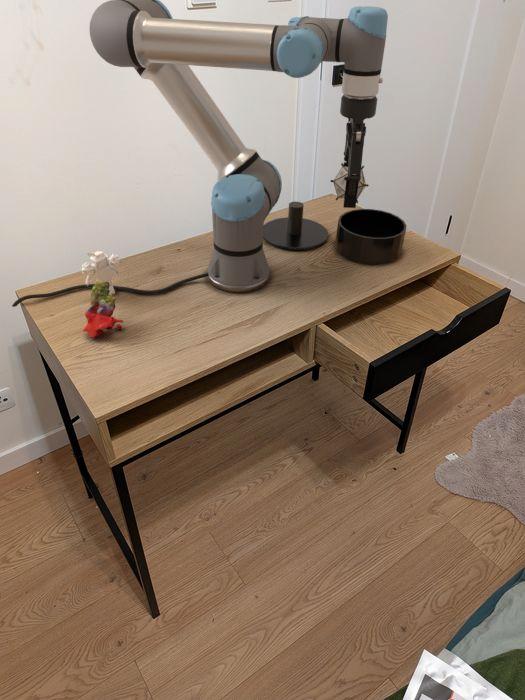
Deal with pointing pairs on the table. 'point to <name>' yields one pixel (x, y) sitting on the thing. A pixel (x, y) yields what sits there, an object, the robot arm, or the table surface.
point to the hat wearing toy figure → (102, 268)
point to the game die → (341, 183)
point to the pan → (370, 236)
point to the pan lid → (294, 230)
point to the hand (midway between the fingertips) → (348, 198)
